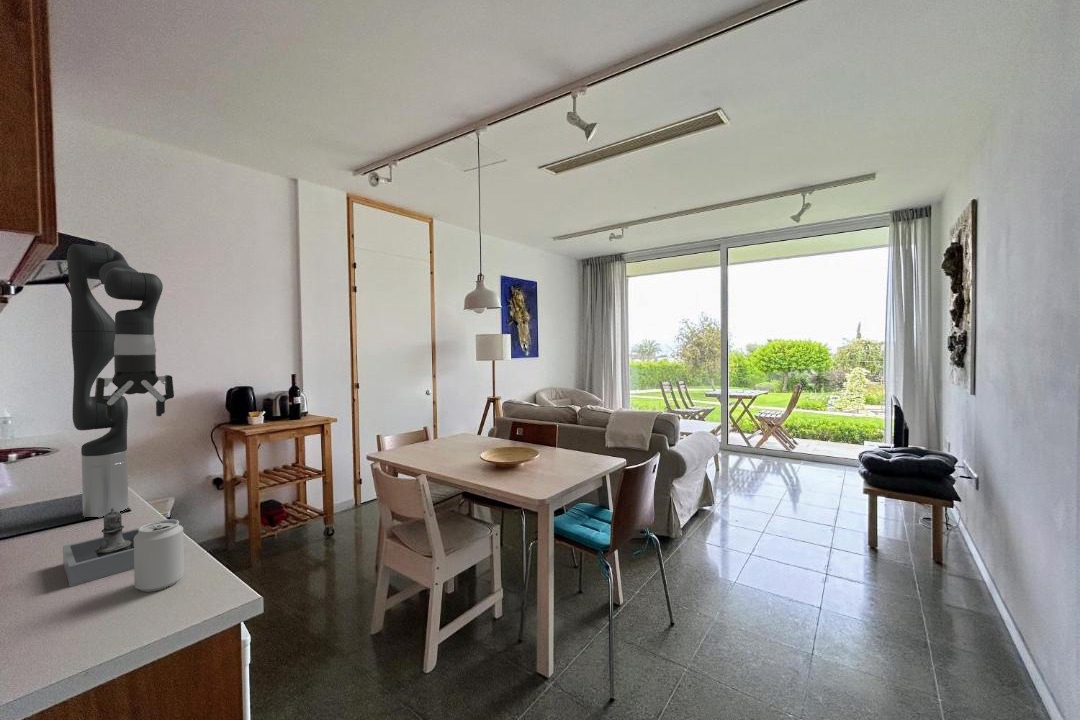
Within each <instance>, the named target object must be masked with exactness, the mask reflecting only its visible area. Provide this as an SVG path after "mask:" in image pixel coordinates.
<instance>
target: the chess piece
mask: <svg viewBox="0 0 1080 720" xmlns="http://www.w3.org/2000/svg"><path fill="white" fill-rule="evenodd" d="M114 510H115V509H113V508H112V509H111V512H110V513H107V514H106V515H105V516H104V517H103V529H101V533H103V536H104V540H103V544H102V545H101V546H99V547H97V548H96V549H95V550H94V551H95V552H96V555H97V556H98V557H102V556H106V555H110V554H113V553H117V552H121V551H125V550H129V547H130V544H131V541H129V540H124V539H123V536H122V532H123V530H124V528H125V526H124V525H122V523H123V521H122V516H123V515H122V512H121V513H120V512H116V511H114ZM103 536H102V537H103ZM98 557H97V558H98Z"/></svg>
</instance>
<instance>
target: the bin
mask: <svg viewBox="0 0 1080 720" xmlns="http://www.w3.org/2000/svg"><path fill="white" fill-rule="evenodd" d="M139 528H140V527H138V528H134V529H130V530H125V531H122V536H123V539H124V540H129V541H131V544H130V547H129V550H125V551H121V552H117V553H113V554H110V555H106V556H102V557H98V556H97V555H96V552H95V551H94V550H95V549H96V548H97V547H99V546H101V545H102V544H103V540H104V536H100V537H99V536H98V537H96V538H90V539H87V540H82V541H79V542H78V541H77V542H75V543H70V544H67V545H66V544H65V545H62V565H63V569H64V572H65V575H66V579H67V581H68V584H69V585H68V586H69V587H74V586H77V585H82V584H83V583H84V584H85V583H88V582H91V581H96V580H97V579H101V578H105V577H109V576H112V575H115V574H119V573H122V572H126V571H129V569H130V570H134V548H133V547H134V537H135V535H136V534H137V533H138V529H139Z"/></svg>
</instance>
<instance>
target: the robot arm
mask: <svg viewBox="0 0 1080 720" xmlns="http://www.w3.org/2000/svg"><path fill="white" fill-rule="evenodd" d="M66 254H67V255H66V264H67V265H66V266H67V272H68V273H67V274H68V281H69V288H70V289H69V290H70V300H71V301H70V303H71V325H70V326H71V331H70V333H71V350H72V360H73V361H72V362H73V390H72V391H73V395H72V423H73V426H74V428H75V429H76V430H78V431H90V430H91V431H92V430H102V429H109V431H108V432H107V433H106V434H104V435H102V436H100V437H98V438H96V439H93V440H90V441H88V442H86V443H84V444H82V445H81V448H80V452H81V456H80V457H81V481H82V482H81V485H82V486H81V487H82V488H81V489H82V490H81V491H82V517H83V516H84V517H83V518H85V517H98V518H104V517H103V516H105V515H106V514H107V513H110V512H111V509H112V508H113V509H115V510H114V511H116V512H120V511H123V510H125V509H127V508H128V509H129V472H128V470H129V469H128V467H129V466H128V417H129V407H128V401H127V398H126V397H125V396H124V394H126V395H129V396H130V395H136V394H138V395H139V394H140V395H145V394H147V393H149V394H150V395H151V396H153V398H155V399H156V401H155V406H156V407H155V410H156V412H155V414H156V417H162V415H163V414H165V412H166V410H165V409H166V406H165V405H166V401H167V400H169V399H170V400H171V399H173V398H174V397H175V391H174V381H173V376H172V375H170V374H166V375H162V376H159V375H157V371H156V369H157V368H156V367H157V366H156V362H157V361H156V360H157V359H156V358H157V357H156V354H157V353H156V352H157V348H156V340H155V335H154V334H155V328H154V327H155V322H154V321H155V314H156V310H157V307H158V304H159V301H160V298H161V296H162V294H163V289H164V288H163V287H164V286H163V285H164V284H163V282H162V280H161V279H160V277H158V275H156V274H153V273H150V272H149V273H148V272H139V271H138V270H136V269H135V268H133V267H132V266H130V265H129V264H128V263H129V262H127V260H126V259H125V257H124V255H123V254H122V253H121V251H118V250H115V249H112V248H108V247H102V246H94V245H86V244H80V243H79V244H78V243H73V244H70V245H69V247H68V249H67V253H66ZM88 280H99V281H101V282H102V283H103V286H104V291H105V293H106V295H107V296H108V297H110V298H112V299H116V300H121V301H138V302H141V304H140V306H138V307H137V308H131V309H124V310H123V309H122V310H118V311H116V313H115V316H114V318H113V317H112V316H111V314H109V313H108V311H106V310H105V308H104V307H103V306H102V305H101V304H100V302H98V300H97V299H96V297H95V296H94V295H93V293H92V291H91V288H90V286H89V284H88ZM112 360H113V361H114V362H113V363H114V364H113V365H114V373H113V377H110V378H109V377H99V376H100V374H101V372H103V370H104V369H105V368H106V366H108V365H109V363H110V362H111V361H112ZM159 381H160V382H161V384H163V385H164V389H165V391H164V392H165V394H163V395H162V394H161V393H160V392H159V391H158V389H156V388H155V387H154V386H155V385H156V384H157V383H158V382H159ZM94 383H95V391H94V393H95V394H94V396H91V391H92V388H93V385H94ZM110 383H111V384H113V385H114V386H115V387H116V389H115V390H114V391H113V392H112V394H111V395H110V394H109V395H104V394H105V393H104V392H105V388H107V387H109V385H110ZM128 509H127V510H128ZM125 511H126V510H125ZM123 512H124V511H123Z"/></svg>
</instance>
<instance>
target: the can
mask: <svg viewBox="0 0 1080 720" xmlns="http://www.w3.org/2000/svg"><path fill="white" fill-rule="evenodd" d="M179 523H180V521H179V520H178V519H161V520H156V521H153V522H150V523H146V524H144V525H141V526H140V527H138V528H139V529H138V533H137V534H136V535H135V537H134V568H133V573H134V574H133V579H134V581H133V582H134V588H135V589H137V590H139V591H142V592H144V593H145V592H146V593H147V592H155V591H160V590H164V589H166V587H167V588H169V587H171V586H173V585H175V584H176V583H178V581H179V580H180V579H181V578H182V577H183V576H184V574H185V555H184V553H185V550H184V549H185V548H184V547H185V546H184V542H185V541H184V526H182V525H181V524H179ZM174 583H175V584H174ZM172 584H173V585H172ZM168 586H169V587H168ZM163 588H164V589H163Z"/></svg>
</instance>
